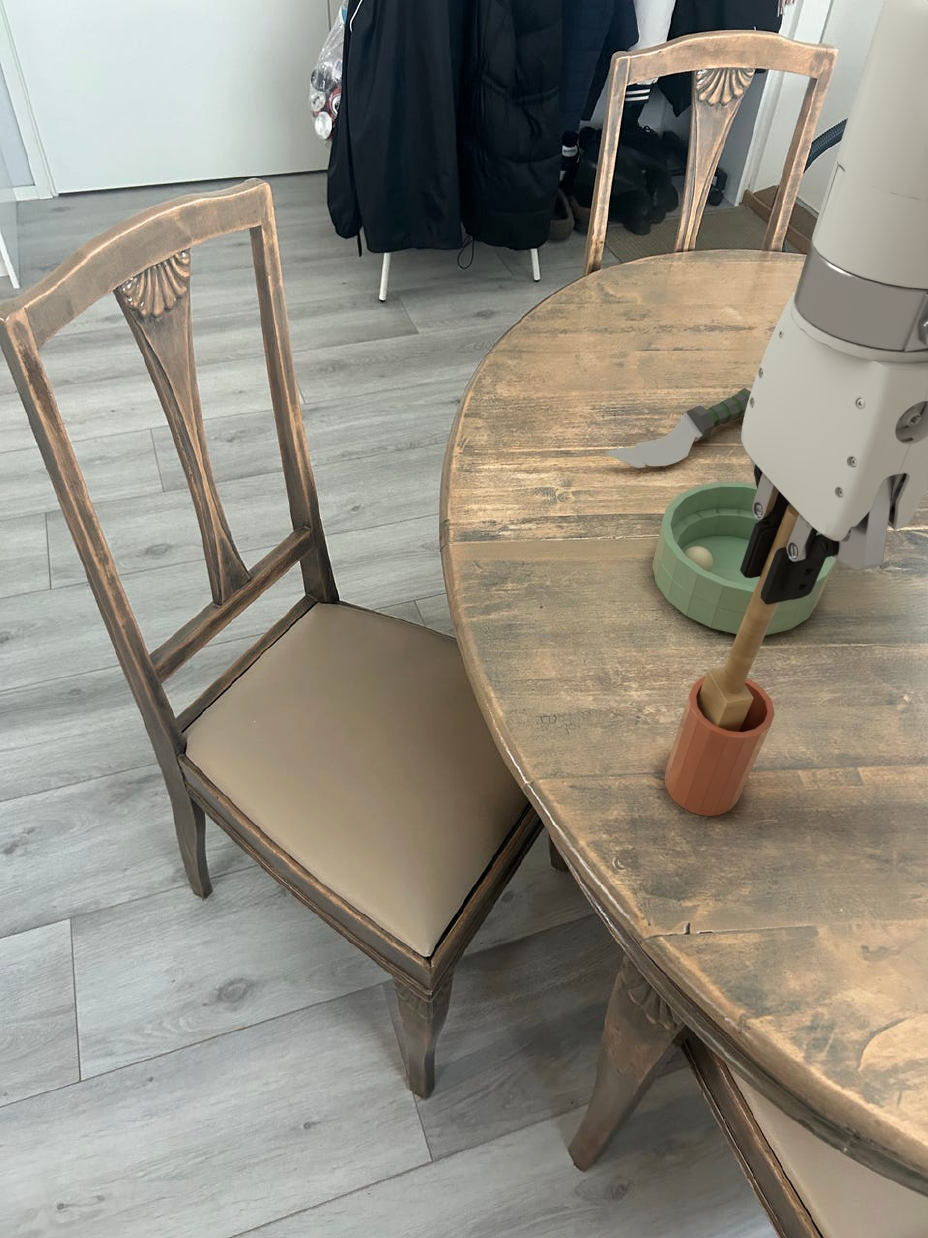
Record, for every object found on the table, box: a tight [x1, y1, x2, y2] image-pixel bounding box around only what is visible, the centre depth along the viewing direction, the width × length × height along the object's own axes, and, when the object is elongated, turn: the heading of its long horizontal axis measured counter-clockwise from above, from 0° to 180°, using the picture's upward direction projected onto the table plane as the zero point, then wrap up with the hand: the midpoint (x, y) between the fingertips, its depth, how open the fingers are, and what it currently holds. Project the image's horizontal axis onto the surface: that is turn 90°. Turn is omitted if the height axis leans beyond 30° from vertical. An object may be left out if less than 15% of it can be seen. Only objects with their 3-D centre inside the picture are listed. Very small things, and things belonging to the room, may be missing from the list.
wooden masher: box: [697, 504, 799, 732], centre depth 56 cm, size 3×2×20 cm, turn 14°
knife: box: [604, 387, 751, 469], centre depth 99 cm, size 22×4×5 cm
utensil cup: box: [664, 674, 776, 817], centre depth 65 cm, size 6×6×10 cm
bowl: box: [651, 481, 837, 636], centre depth 83 cm, size 16×16×6 cm
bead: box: [684, 546, 713, 572], centre depth 83 cm, size 3×3×3 cm
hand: (774, 582), depth 53 cm, fingers closed on wooden masher, 1 cm apart
